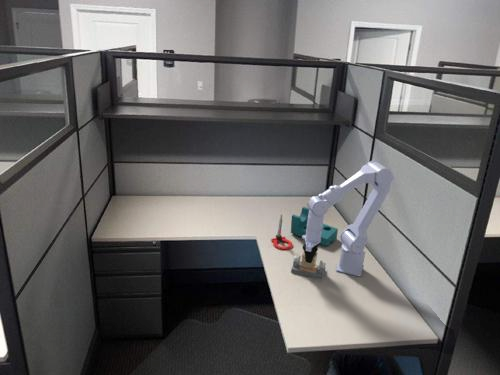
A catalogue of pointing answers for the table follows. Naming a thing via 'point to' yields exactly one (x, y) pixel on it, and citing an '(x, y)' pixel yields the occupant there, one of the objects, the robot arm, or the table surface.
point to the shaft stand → (308, 269)
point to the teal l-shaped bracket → (301, 225)
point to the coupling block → (309, 265)
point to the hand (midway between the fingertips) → (309, 259)
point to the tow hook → (281, 238)
